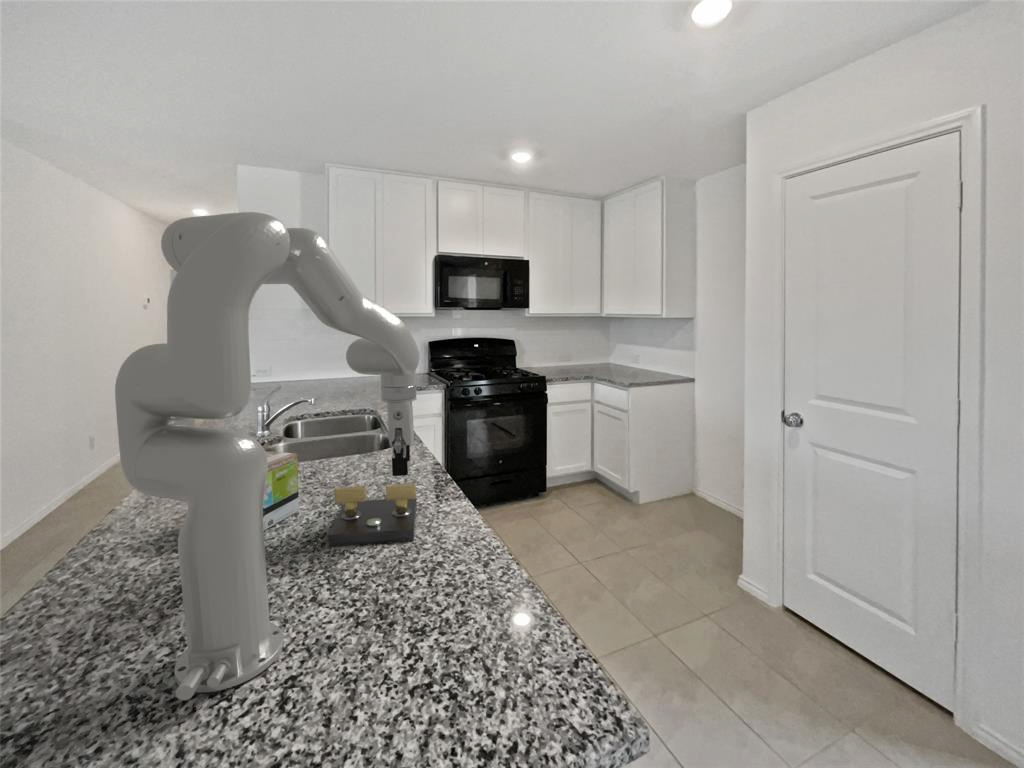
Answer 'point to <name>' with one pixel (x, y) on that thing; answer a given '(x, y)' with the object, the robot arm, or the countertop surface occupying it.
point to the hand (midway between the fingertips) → (401, 467)
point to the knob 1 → (350, 498)
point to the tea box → (280, 488)
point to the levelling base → (374, 524)
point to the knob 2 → (401, 495)
